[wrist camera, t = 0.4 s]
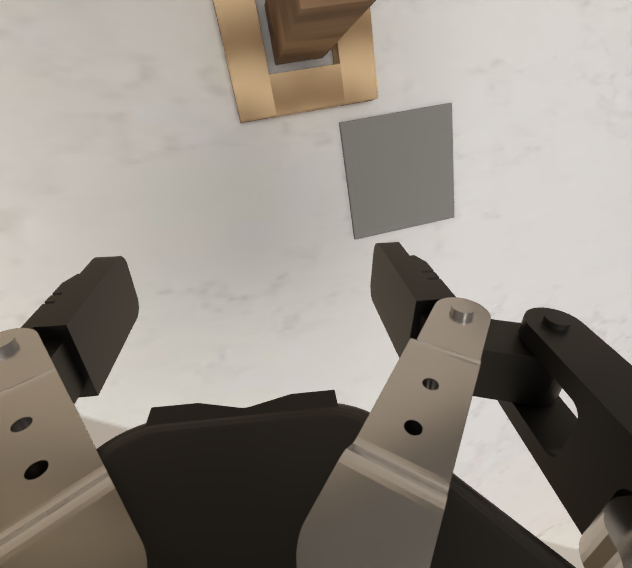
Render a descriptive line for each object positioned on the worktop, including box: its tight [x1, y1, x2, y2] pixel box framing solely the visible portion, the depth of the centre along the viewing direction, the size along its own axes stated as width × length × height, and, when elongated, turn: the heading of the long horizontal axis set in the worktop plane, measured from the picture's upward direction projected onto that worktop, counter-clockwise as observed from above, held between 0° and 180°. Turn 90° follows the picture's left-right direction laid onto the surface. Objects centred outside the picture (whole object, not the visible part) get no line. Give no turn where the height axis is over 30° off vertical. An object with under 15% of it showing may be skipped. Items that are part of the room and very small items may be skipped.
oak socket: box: [213, 0, 378, 123], centre depth 31 cm, size 13×13×2 cm
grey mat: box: [339, 103, 454, 239], centre depth 38 cm, size 12×12×1 cm
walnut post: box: [265, 0, 376, 65], centre depth 26 cm, size 4×4×14 cm
